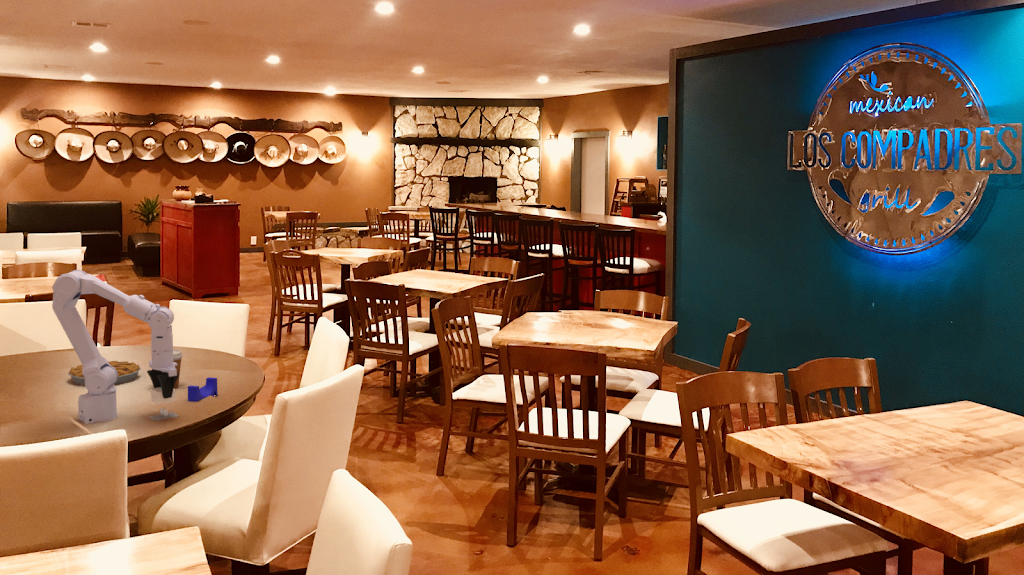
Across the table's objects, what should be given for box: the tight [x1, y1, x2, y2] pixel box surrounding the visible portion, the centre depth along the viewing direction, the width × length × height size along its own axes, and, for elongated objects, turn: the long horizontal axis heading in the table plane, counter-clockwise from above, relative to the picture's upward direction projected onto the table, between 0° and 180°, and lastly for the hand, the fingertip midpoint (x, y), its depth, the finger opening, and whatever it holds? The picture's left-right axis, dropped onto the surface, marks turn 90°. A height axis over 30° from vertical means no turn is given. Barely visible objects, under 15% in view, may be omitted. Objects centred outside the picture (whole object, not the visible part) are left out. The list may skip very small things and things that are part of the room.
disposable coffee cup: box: [173, 349, 184, 389], centre depth 268 cm, size 10×10×12 cm
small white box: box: [150, 387, 177, 405], centre depth 233 cm, size 5×5×4 cm
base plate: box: [148, 411, 179, 422], centre depth 234 cm, size 7×5×1 cm
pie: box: [67, 360, 142, 386], centre depth 276 cm, size 22×22×5 cm
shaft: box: [159, 407, 169, 418], centre depth 234 cm, size 1×3×2 cm, turn 46°
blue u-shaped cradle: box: [187, 376, 218, 403], centre depth 255 cm, size 12×4×6 cm, turn 170°
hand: (163, 395), depth 233 cm, fingers closed on small white box, 5 cm apart
